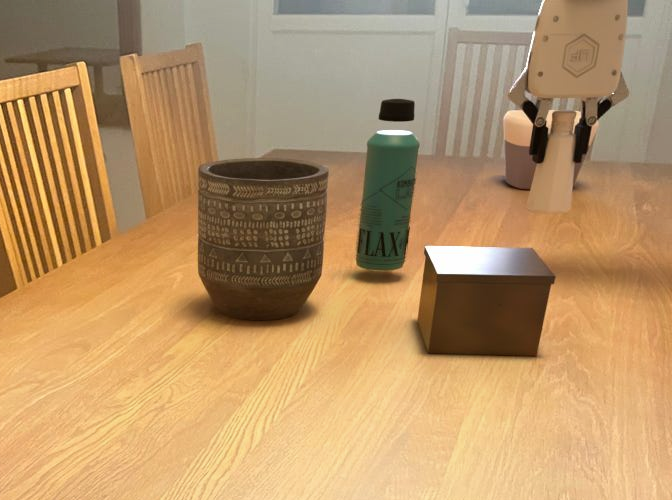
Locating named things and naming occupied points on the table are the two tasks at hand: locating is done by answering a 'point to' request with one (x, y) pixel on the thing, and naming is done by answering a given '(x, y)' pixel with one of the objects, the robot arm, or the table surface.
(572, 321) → the table surface
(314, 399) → the table surface
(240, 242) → the planter
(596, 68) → the robot arm
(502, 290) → the walnut box
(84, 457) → the table surface
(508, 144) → the bowl
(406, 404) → the table surface
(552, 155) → the cream bottle
